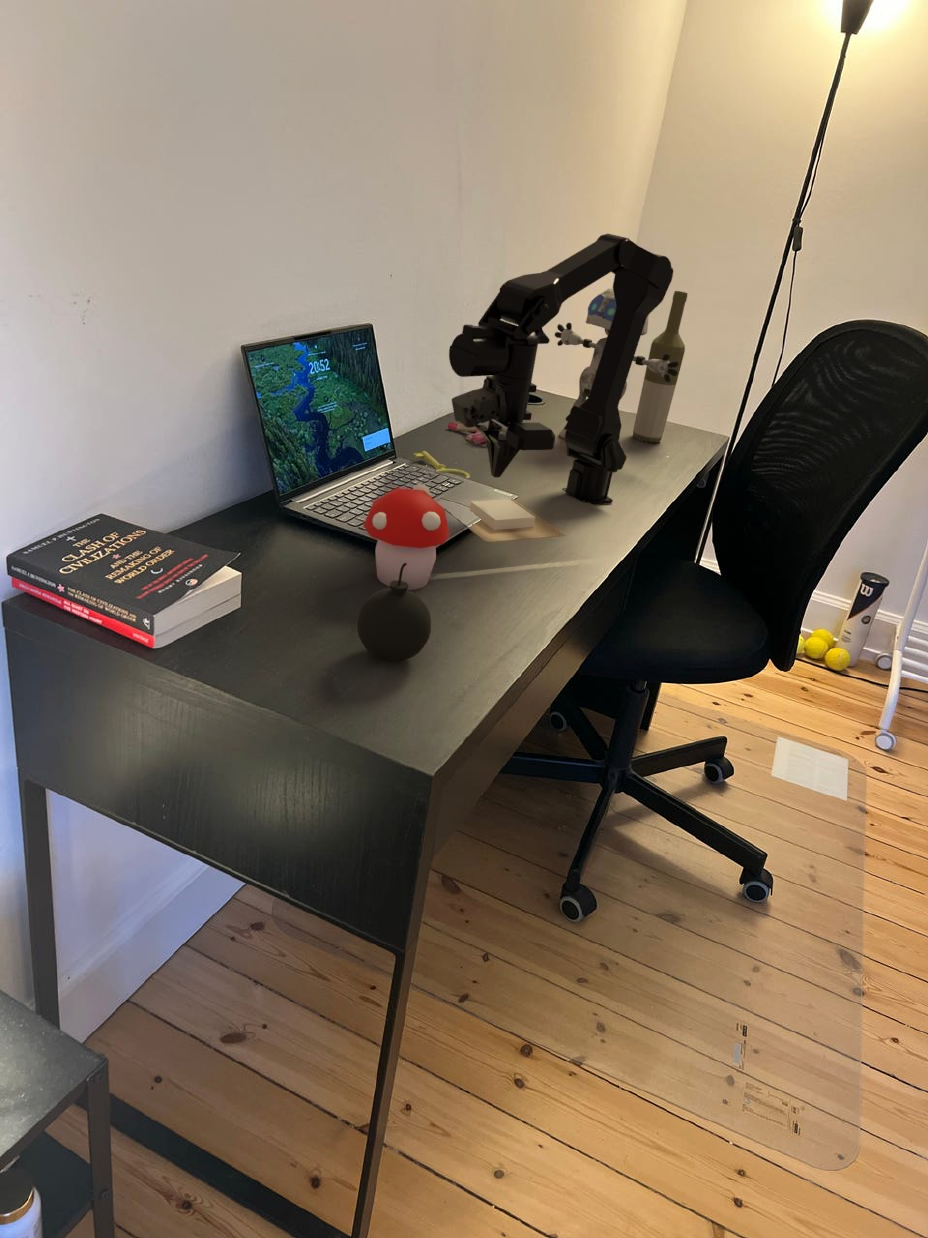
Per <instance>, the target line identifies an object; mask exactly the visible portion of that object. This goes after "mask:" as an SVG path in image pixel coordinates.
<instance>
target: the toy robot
mask: <svg viewBox="0 0 928 1238" xmlns="http://www.w3.org/2000/svg"><path fill="white" fill-rule="evenodd" d="M615 310H616V303H615V297H614V292H613V288H607V289H605V290H604V291H602V292H600V293H599V294H597V295H596V296H595V297H594V298H593V299H591V301H590V303H589V304H588V307H587V316H586V320H585V323H586V324H587V325H593V326H597V327H600V328H603V329H604V332H605V333H604V334H605V335H606V337H603V338H600V339H599V340H598V341H596V343H595V342H593V340H592V339H589V338H584V339H582V337H581V335H579V334H578V333H576V332H574V330H572V327H573V325H572V323H571V322H567V323H566V325H565V327H566V328H565V327H564V326H563V324H561V323H558V324H557V327H556V328H557V330H558V331H556V332H555V333H554V337H556V338H557V339H560V340H558V341H557V343H556V344H557V345H558V347H561V346H562V345H564V346H565V345H566V346H570V345H571V346H577V345H578V346H579V345H582V347H583V348H585V349H591V348H592V349H594V350H593V354H592V358H591V361H590V364H589V366H587V367H585V368H584V369H583V370H582V372H581V374H580V376H579V380H578V381H579V383H578V384H579V385H578V386H579V389H578V390H579V392H578V393H579V394H578V397H577V398H576V400H575V401H574V402H573V405H572V407H573V406H577V407H579V406H580V405H581V404H582V403H583V402H584V401H585V400H586V399H587V398H588V396H589V393H590V390H591V387H592V384H593V381H594V377H595V374H596V371H597V368H598V365H599V361H600V358H601V355H602V352H603V349H604V345H605V342H606V339H607V336H608V333H609V329H610V326H611V323H612V320H613V317H614V313H615ZM649 316H650V314H649V315H648V316H647V318H646V321H645V324H644V327H643V330H642V333H641V336H645V335H647V333H648V327H649ZM669 358H670V355H669V354H668V353H665V354H664V356H663V358H662V359H660V360H659V359H651V360H648V359H646V356H645V357H644V356H642V355H637V356H635V355H634V358H633V361H632V362H635V363H634V364H635V365H637V366H646V367H648V368H649V369H650V370H651V371H653V372H655V373H657V375H658V376H661V377H664V378H665V381H666V382H670V381H671V378H670V376H669V374H670V375H672V376H676V375H677V374H678V371H677V370H674V369H671V368H673V367H677V366H678V365H679V363H678V361H673V362H669V361H668V359H669ZM627 386H628V382H627V381H626V383H625V386H624V389H623V392H622V395H621V398H620V401H621V400H622V398H623V397H624V395H625V393H626V391H627V388H628V387H627ZM569 415H570V413H569V414H568V415H567V416H566V417H565V418H564V419H565V421H566V423H567V422H568V419H569ZM564 428H565V426H564V427H563V428H561V430H560V431H559V433H558V435H559V436H560V437H561V439H564V440H565V433H566V430H565V429H564ZM620 435H621V434H620ZM620 435H619V440H618V441H619V443H620V445H621V447H622V448H623V446H622V443H621V441H620V438H621V436H620Z"/></svg>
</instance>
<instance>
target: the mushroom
mask: <svg viewBox="0 0 928 1238" xmlns="http://www.w3.org/2000/svg"><path fill="white" fill-rule="evenodd" d="M436 501H437V500H435V499H434V498H433V497H432V496H431V491H430V488H429V487H428V486H427V485H426V484H424V483H418V484H416V485H414V486H413V487H412V488H405V487H404V488H403V487H396V488H394V489H392V490H391V491H389V492H387V493H386V494H384V495H382V496H380V497H378V498H377V499H375V500H373V503H372V505H371V507H370V510H369V512H368V514H367V516H366V518H365V521H364V522H363V528H364V529H365V531H366V532H367V533H368V535H369V536H370V537H371V538H374V539H377V542H376V544H375V545H376V546H375V565H376V567H375V568H376V579H378V580H379V582H380V583H382V584H383V585H385V586H387V587H390V582H392V581H396V580H397V581H399V574H400V570H401V567H402V565H403V564H404V563H407V565H406V566H405V567H404V568H403V572H402V578H401V581H404V582H406V583H408V585H409V587H408V589H407V590H408V591H411V590H418V589H421V588H424V587H425V586H427V585H428V583H429V581H430V578H431V575H432V571H433V568H434V566H435V562H436V559H437V553H436V552H437V551H436V546H441V545H444V544H445V543H446V541H447V540H448V538H449V537H450V536H451V533H450V530H449V523H448V520H447V515H446V510H444V508H443V507H442V506H441V505H439V504H438V503H437V502H436Z"/></svg>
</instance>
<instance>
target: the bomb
mask: <svg viewBox="0 0 928 1238" xmlns="http://www.w3.org/2000/svg"><path fill="white" fill-rule="evenodd" d="M406 565H407V563H404V564H403V565H402V567H401V570H400V574H399V581H397V580H396V581H392V582H390V586H389V588H388V587H387V588H383V589H380V590H378V591H376V592H374V593H373V594H372V595H370V596H369V597H368V598H367V599H366V600H365V601H364V602H363V604H362V605H361V607H360V609H359V611H358V612H359V613H358V616H357V625H356V626H357V631H356V632H357V633H358V637H359V639H360V641H361V643H362V645H363V647H364V648H365V649H366V650H367V652H368V653H370V654H371V655H373V656H374V657H375V658H376V659H379V660H382V661H385V662H391V663H392V662H397V663H398V662H404V661H406V660H409V659H411V658H413V657H415V656H416V655H418V654H419V653H420V652H421V651H422V650H423V649H424V647H425V646H426V645H427V643H428V640H429V638H430V637H431V632H432V619H431V613H430V610H429V608H428V606H427V605H426V603H425V602H424V601H423V600H422V599H421V597H420V596H419V595H417V594H416V593H414V592H412V591H411V590H407V589H408V587H409V585H408V583H406V582H404V581H401V578H402V572H403V568H404V567H405V566H406Z"/></svg>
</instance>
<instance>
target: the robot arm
mask: <svg viewBox="0 0 928 1238" xmlns="http://www.w3.org/2000/svg"><path fill="white" fill-rule="evenodd" d="M610 273H612V274H613V275H614V278H613V283H612V289H613V292H614V297H615V303H616V310H615V313H614V317H613V320H612V323H611V326H610V329H609V333H608V335H606V337H607V339H606V342H605V345H604V349H603V352H602V355H601V358H600V361H599V365H598V368H597V371H596V374H595V377H594V381H593V384H592V387H591V390H590V393H589V396H588V397H586V400H585V401H584V402H583V403H582V404H581V405H580V406H579V407H577V406H573V405H572V406H571V408H570V411H569V414H570V415H569V414H568V415H569V419H568V422H567V421H566V425H565V426H564V427H565V428H564V427H563V428H564V429H565V430H566V433H565V439H564V441H565V443H566V444H565V445H566V456H568V457H570V458H573V459H574V460H573V462H572V468H571V469H570V470H569V474H568V479H567V483H566V487H563V488H562V489H561V490H563V491H564V492H565V493H566V494H568V495H569V496H571V497H573V498H574V499H577V500H578V501H580V502H582V503H589V504H590V505H597V504H599V505H601V504H612V503H613V501H614V500H613V499H612V498H611V497H609V496H608V495H609V491H610V486H611V482H612V478H613V473H617V472H618V471H619V470H622V469H623V467H624V464H625V463H626V460H627V455H626V453H625V451H624V449H623V446H622V447H621V445H622V444H621V445H620V443H621V442H620V438H619V435H621V430H622V422H621V416H620V412H619V411H620V410H619V404H620V401H621V400H620V398H621V395H622V392H623V389H624V386H625V383H626V382H627V379H628V377H629V373H630V370H631V367H632V364H633V362H634V361H633V358H634V356H635V354H636V352H637V349H638V346H639V342H640V339H641V337H642V335H641V333H642V330H643V327H644V324H645V321H646V318H647V316H648V315H649V316H650V314H651V313H652V312H653V311H654V310H655V309H656V308H657V307H658V306H659V305H660V304H662V302H663V301H664V299H665V296H666V295H667V292H668V290H669V287H670V285H671V283H672V280H673V277H674V268H673V267H672V263H671V261H670V259H669V257H667V256H665V255H661V254H658V253H653V252H651V251H649V250H646V249H645V248H643V247H641V246H639V245H638V244H637V243H635V242H634V241H632V240H631V239H630V238H629V237H626V236H620V235H616V234H613V233H612V234H611V233H606V234H601V235H600V236H598V238H597V239H596V241H594V242H593V243H590V244H589V245H587V246H586V247H584V248H582V249H581V250H579V251H577V252H576V253H574V254H573V255H571V256H569V257H567V258H565V259H564V260H562V261H560V262H559V263H556V265H554V266H552V267H550V268H549V269H547V270H545V271H542V272H537V273H528V274H523V275H520V276H518V277H514V278H511V279H509V280H507V281H506V282H504V283H503V284H502V285H501V286H500V287H499V292H498V294H497V295H496V296H495V298H494V299H493V301H492V302H491V304H489V306H488V308H487V309H486V310H485V312H484V314H483V315H482V316H481V318H480V319H479V321H478V323H477V325H473V324H464V325H463V326H462V331H461V333H459V334H458V335H456V337H455V338H454V339H453V340H452V343H451V345H450V346H449V350H448V358H449V360H448V361H449V364H450V367H451V368H452V369H451V370H452V372H454V374H455V375H457V376H459V377H461V378H462V377H464V378H465V377H466V378H469V377H486V378H484V380H483V385H482V387H480V388H478V389H473V390H470V391H466V392H464V393H461V394H459V395H457V396H454V397H452V399H451V405H452V410H453V415H454V421H456V422H459V423H460V424H463V425H464V426H465V427H468V428H470V427H476V429H478V430H479V431H480V432H481V434H482V435H483V436H484V437H485V439H486V441H485V444H486V443H487V444H486V448H487V453H488V459H489V460H488V461H489V467H490V474H491V476H492V477H493V478H500V477H501V476H502V475H503V473H504V472H505V470H506V469H507V467H508V466H509V465H510V464H511V462H512V461H513V460H514V458H515V457H516V456H517V454H518V453H519V452H520V451H547V450H553V449H554V447H555V441H556V434H555V433H554V432H553V429H551V428H549V427H547V426H546V425H544V424H542V423H541V422H524V421H531V420H532V415H533V414H532V412H530V411H528V404H529V397H530V393H536V391H537V388H538V387H537V385H536V384H535V383H533V374H534V369H535V363H536V357H537V351H538V345H543V344H544V345H547V344H549V343H550V338H549V337H548V336H547V334H546V333H545V331H544V330H543V328H544V327H545V326H547V325H548V323H549V322H551V321H552V320H553V319H554V318H555V317H556V316H557V315H558V314H559V313H560V310H561V307H562V304H563V303H564V302H566V301H567V300H568V299H570V298H571V297H573V296H574V295H576V294H577V293H579V292H581V291H583V290H584V289H585V288H587V287H589V286H590V285H593V284H594V283H595V282H597V281H598V280H600V279H602V278H603V277H605V276H606V275H609V274H610ZM649 316H648V317H649ZM621 399H622V398H621ZM509 423H510V424H509ZM618 440H619V441H618ZM619 442H620V443H619Z"/></svg>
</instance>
